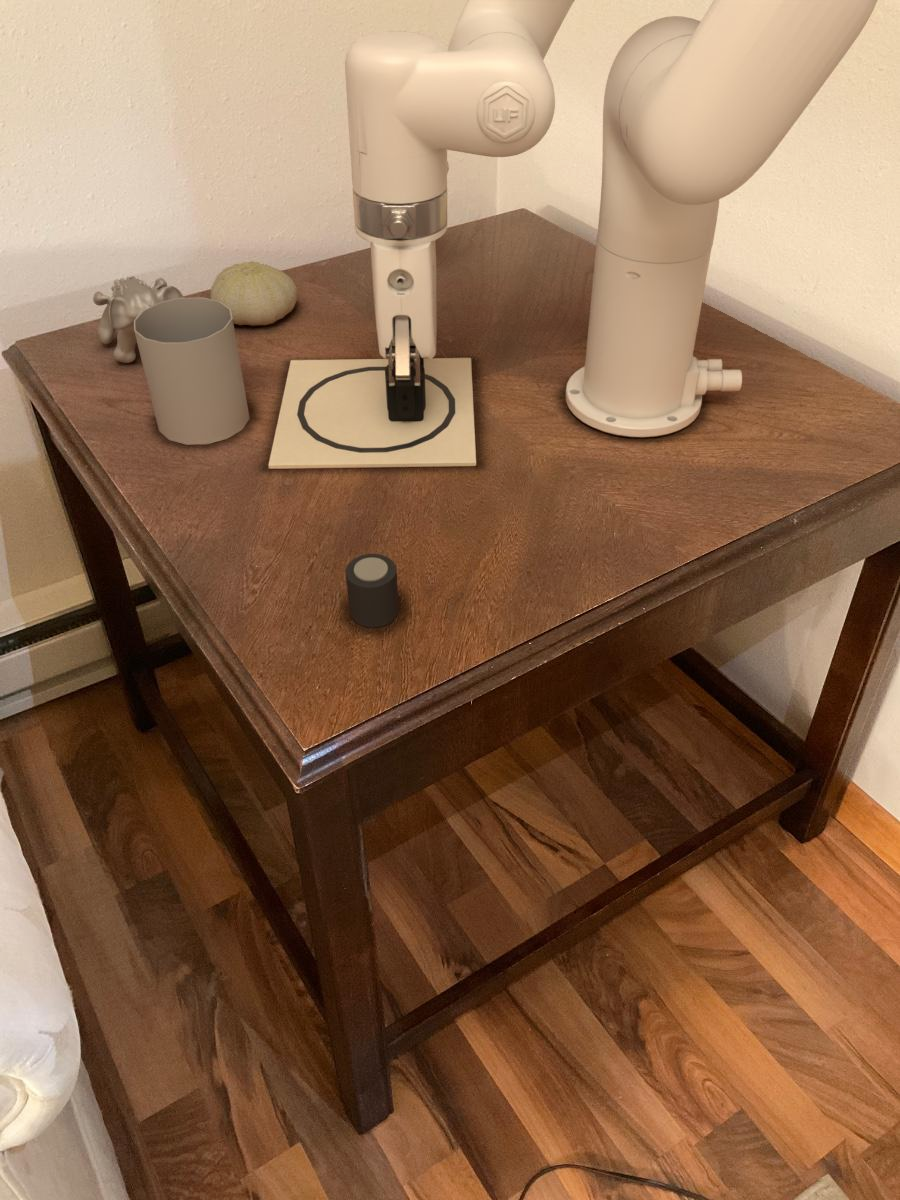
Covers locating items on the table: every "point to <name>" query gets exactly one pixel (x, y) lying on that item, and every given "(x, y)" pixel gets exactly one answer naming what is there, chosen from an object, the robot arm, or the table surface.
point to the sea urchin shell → (255, 293)
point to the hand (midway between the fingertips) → (406, 405)
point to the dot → (372, 590)
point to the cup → (192, 369)
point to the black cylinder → (422, 377)
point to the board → (372, 417)
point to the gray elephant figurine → (129, 311)
